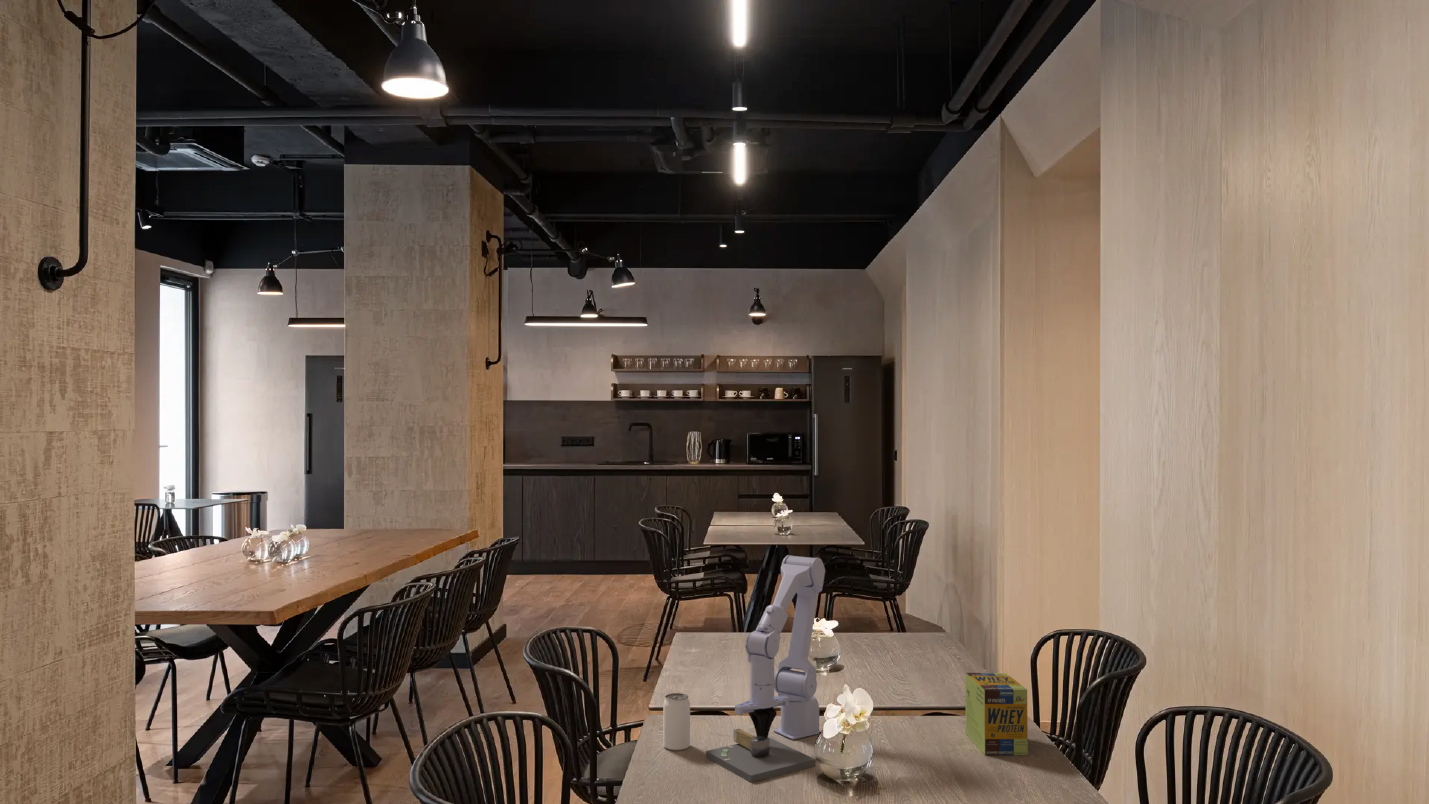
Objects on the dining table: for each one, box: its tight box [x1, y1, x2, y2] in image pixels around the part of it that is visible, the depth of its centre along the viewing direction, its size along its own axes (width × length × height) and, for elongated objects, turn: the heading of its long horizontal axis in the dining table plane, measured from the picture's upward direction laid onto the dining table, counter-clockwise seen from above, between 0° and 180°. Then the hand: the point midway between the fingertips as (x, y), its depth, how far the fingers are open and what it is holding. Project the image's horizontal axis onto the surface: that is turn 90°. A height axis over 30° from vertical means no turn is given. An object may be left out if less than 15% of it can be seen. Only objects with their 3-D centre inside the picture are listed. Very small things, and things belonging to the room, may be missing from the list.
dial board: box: [705, 736, 816, 783], centre depth 209 cm, size 18×18×2 cm
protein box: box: [964, 672, 1029, 756], centre depth 221 cm, size 10×15×16 cm
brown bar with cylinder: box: [733, 728, 770, 756], centre depth 212 cm, size 4×12×3 cm, turn 33°
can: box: [662, 692, 691, 752], centre depth 219 cm, size 6×6×12 cm
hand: (762, 740), depth 215 cm, fingers closed
